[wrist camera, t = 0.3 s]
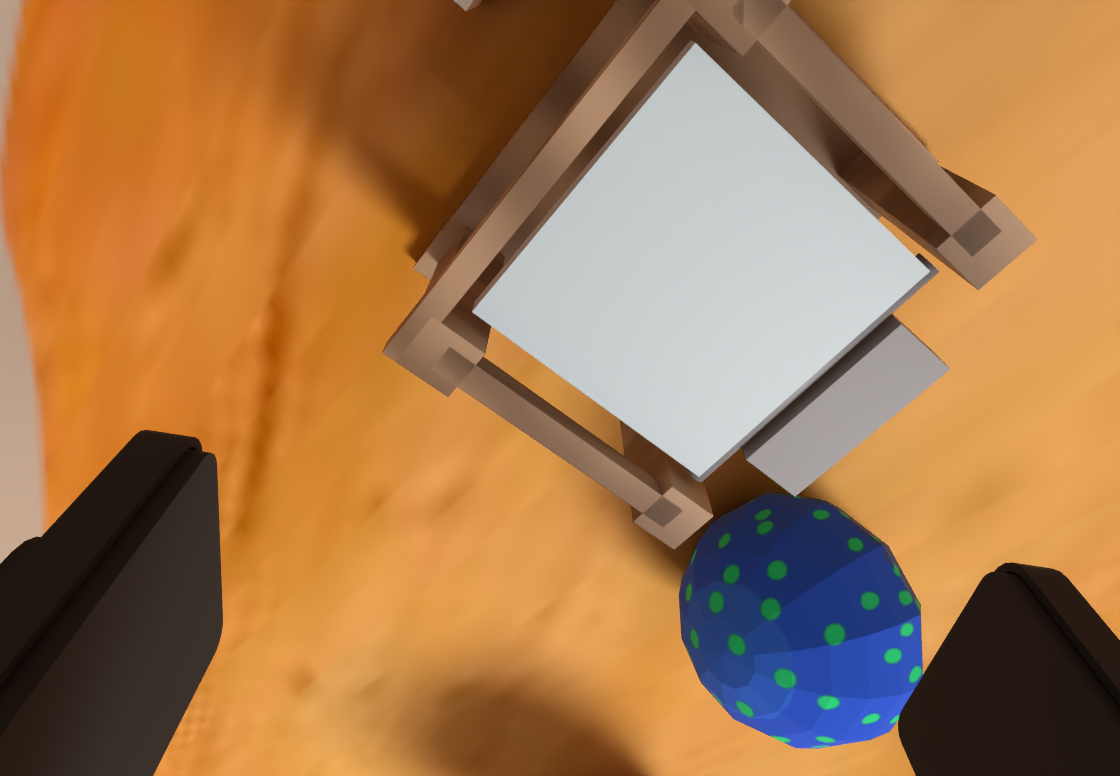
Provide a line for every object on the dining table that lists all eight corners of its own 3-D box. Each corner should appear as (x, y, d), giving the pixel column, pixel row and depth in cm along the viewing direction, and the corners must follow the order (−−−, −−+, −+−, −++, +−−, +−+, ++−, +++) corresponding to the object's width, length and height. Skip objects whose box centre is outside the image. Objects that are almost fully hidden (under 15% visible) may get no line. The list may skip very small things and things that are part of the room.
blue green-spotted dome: (962, 734, 44) (817, 864, 35) (767, 614, 55) (615, 689, 46) (1027, 520, 40) (880, 603, 31) (801, 433, 50) (642, 476, 41)
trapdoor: (693, 34, 25) (701, 38, 23) (978, 312, 30) (998, 329, 28) (472, 302, 30) (467, 318, 28) (749, 504, 34) (757, 527, 33)
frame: (689, -96, 31) (751, -128, 21) (931, 157, 36) (1076, 232, 26) (416, 263, 38) (363, 368, 28) (646, 431, 43) (671, 571, 33)
